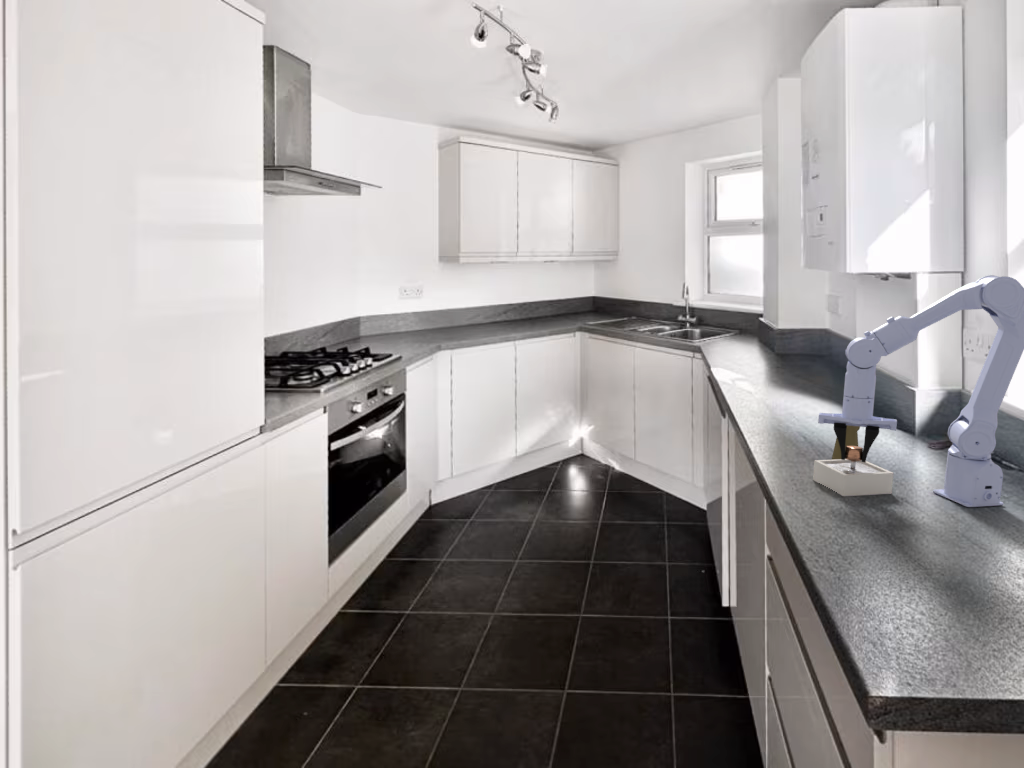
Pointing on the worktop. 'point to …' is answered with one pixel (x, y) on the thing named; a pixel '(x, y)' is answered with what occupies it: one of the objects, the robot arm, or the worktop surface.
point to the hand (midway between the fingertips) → (853, 459)
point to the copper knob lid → (853, 462)
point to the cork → (850, 441)
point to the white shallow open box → (853, 479)
